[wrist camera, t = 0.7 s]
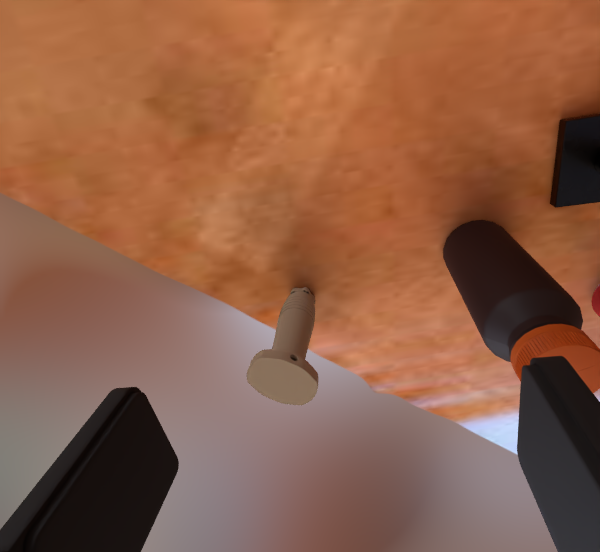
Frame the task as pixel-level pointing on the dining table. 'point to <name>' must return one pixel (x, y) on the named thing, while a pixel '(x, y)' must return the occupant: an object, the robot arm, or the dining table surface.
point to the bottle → (517, 301)
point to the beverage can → (596, 300)
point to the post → (577, 162)
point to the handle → (288, 354)
